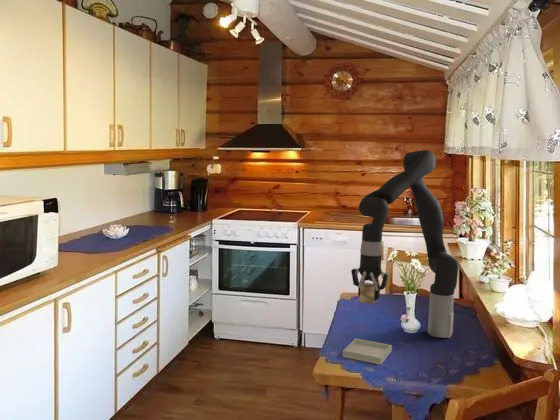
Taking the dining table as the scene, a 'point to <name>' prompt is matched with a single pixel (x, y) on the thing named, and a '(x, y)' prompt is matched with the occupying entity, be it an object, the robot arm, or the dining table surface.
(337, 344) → the dining table surface
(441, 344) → the dining table surface
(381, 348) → the dish
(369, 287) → the birch block
